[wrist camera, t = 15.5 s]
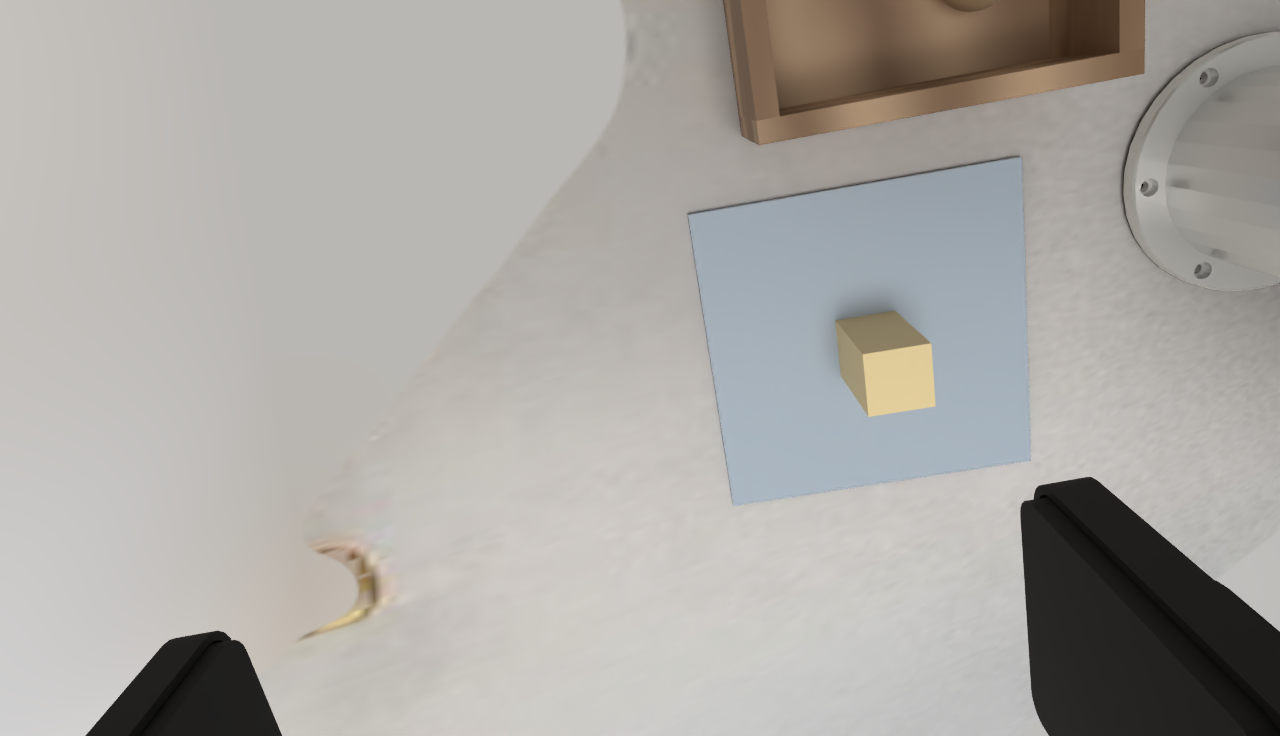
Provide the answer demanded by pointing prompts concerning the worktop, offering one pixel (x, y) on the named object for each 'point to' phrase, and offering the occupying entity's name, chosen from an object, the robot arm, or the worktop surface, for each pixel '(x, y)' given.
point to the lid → (868, 331)
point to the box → (915, 57)
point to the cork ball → (969, 4)
